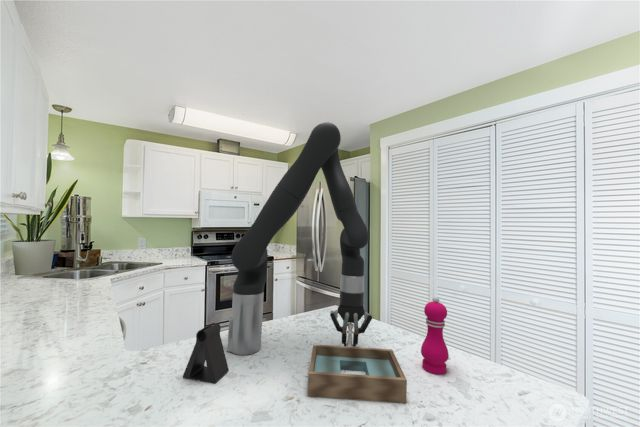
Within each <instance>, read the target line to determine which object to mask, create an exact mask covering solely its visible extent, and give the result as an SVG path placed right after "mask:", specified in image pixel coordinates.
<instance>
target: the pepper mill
mask: <svg viewBox="0 0 640 427" xmlns="http://www.w3.org/2000/svg"><path fill="white" fill-rule="evenodd" d="M423 312H424V315H425V316H426V318H425V324H426V325H427V331H426V332H427V333H426V336H425V338H424V340H423V342H422V344H421V348H420V353H421V356H422V357H423V359H422V361H421V365H422V369H423V370H425V371H426V372H427V373H430V374H433V375H444V374H446V373H447V363H446V362H447V361H448V360H449V357H450V355H449V349H448V347H447V344H446V342H445V340H444V334H443V331H444V327H445V326H446V325H445V324H446V321H445V319H446V318H447V316H448V309H447V308H446V305H444V304H443V303H441V302H440V298H439V297H438V296H436V295H435V296H433V297H432V301H429V302H427V303H426V304H425V306H424V309H423Z"/></svg>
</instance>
